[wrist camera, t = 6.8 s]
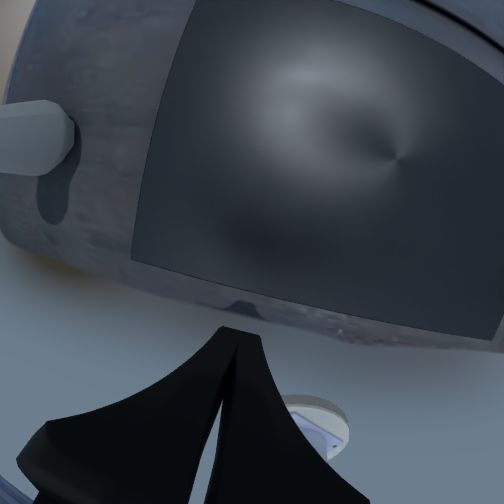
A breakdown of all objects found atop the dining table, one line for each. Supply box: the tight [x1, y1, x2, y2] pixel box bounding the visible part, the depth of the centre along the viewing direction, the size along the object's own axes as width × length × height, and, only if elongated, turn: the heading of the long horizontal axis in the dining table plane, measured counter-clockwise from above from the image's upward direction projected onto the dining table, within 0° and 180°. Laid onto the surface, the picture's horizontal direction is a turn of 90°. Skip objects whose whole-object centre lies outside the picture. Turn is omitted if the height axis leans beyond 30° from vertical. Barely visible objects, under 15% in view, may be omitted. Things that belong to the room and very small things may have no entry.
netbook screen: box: [131, 0, 504, 341], centre depth 14 cm, size 18×26×1 cm
